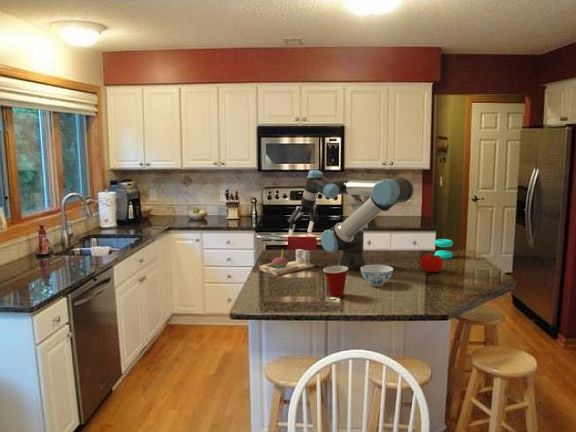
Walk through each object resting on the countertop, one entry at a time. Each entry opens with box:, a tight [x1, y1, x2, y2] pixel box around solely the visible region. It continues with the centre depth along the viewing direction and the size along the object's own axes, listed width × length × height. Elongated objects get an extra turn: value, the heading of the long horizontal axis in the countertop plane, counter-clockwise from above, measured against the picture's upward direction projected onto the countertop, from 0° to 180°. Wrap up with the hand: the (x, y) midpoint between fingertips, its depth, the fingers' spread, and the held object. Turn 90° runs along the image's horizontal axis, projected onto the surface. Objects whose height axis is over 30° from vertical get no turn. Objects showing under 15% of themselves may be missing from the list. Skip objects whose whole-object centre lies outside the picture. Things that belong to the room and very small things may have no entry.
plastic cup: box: [322, 265, 349, 298], centre depth 214 cm, size 11×11×12 cm
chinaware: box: [360, 264, 394, 287], centre depth 230 cm, size 15×15×8 cm
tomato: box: [419, 253, 444, 273], centre depth 252 cm, size 11×11×9 cm
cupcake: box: [271, 249, 289, 269], centre depth 259 cm, size 9×8×12 cm
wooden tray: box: [258, 248, 316, 276], centre depth 263 cm, size 15×26×8 cm, turn 130°
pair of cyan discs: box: [433, 238, 454, 260], centre depth 285 cm, size 10×10×10 cm
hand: (299, 233), depth 274 cm, fingers open, 13 cm apart
